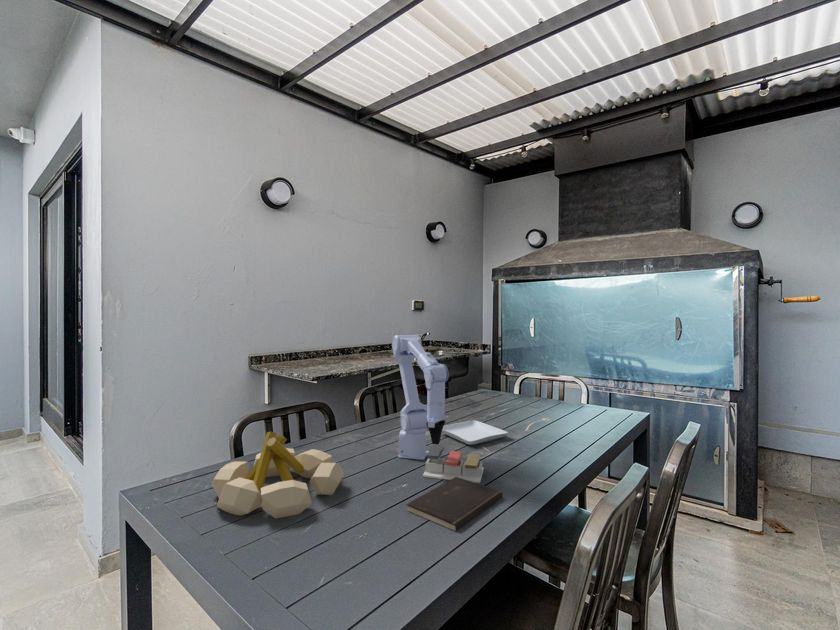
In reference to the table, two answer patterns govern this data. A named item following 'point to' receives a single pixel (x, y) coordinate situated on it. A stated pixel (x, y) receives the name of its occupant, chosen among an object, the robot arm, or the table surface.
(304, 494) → the campfire
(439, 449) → the grey rectangular block
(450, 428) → the salad plate
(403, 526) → the table surface
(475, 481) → the panel
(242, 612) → the table surface
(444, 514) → the hardcover book
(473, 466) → the brass plug
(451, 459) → the red plug
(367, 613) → the table surface
